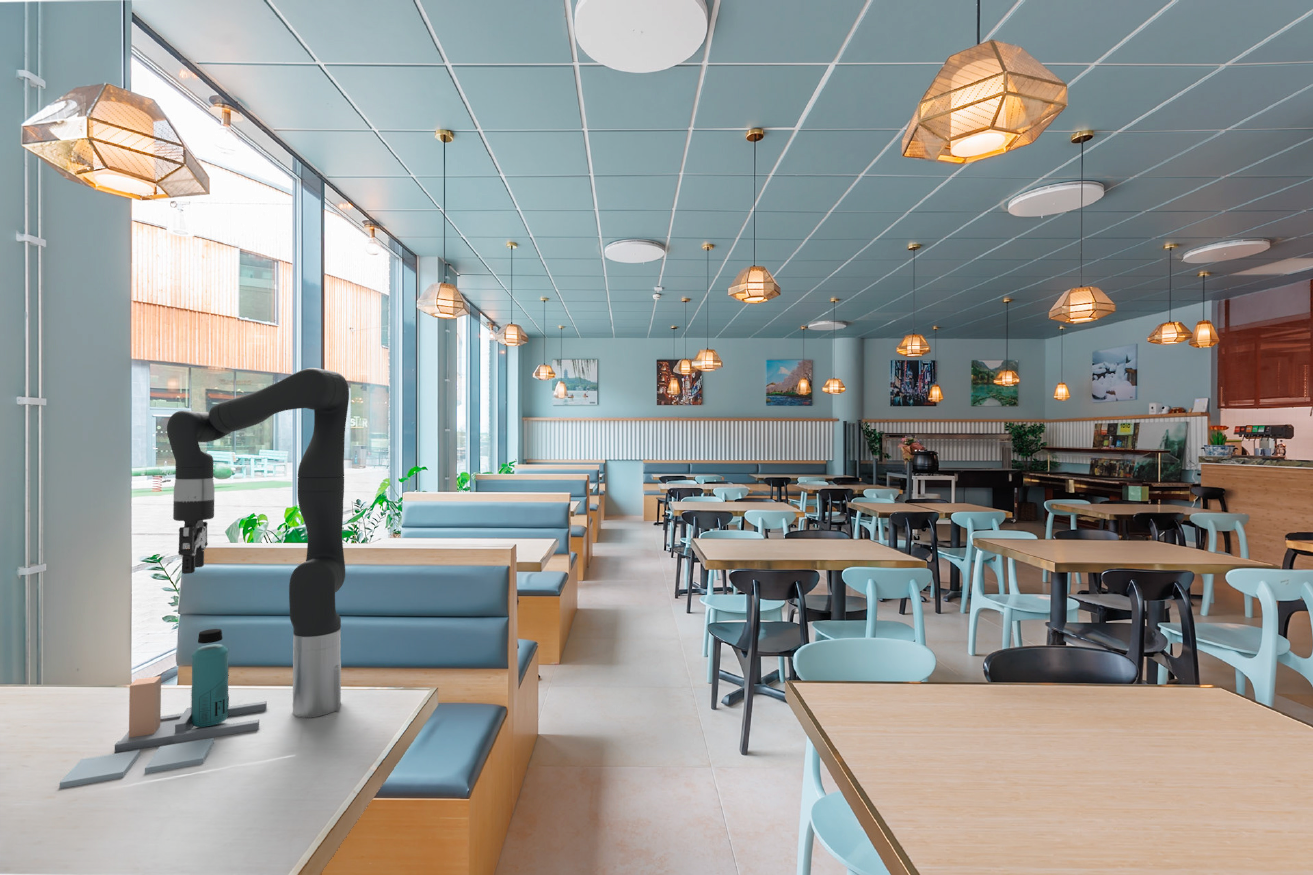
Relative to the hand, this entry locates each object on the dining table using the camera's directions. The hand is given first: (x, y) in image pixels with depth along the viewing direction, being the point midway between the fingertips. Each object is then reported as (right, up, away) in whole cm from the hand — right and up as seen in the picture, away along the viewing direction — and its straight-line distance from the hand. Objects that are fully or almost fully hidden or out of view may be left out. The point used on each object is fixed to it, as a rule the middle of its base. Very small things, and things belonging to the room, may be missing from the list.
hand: (193, 570), depth 143 cm
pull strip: (+11, -29, -14) cm, 35 cm away
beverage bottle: (+13, -30, -13) cm, 35 cm away
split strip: (+12, -29, -29) cm, 43 cm away
